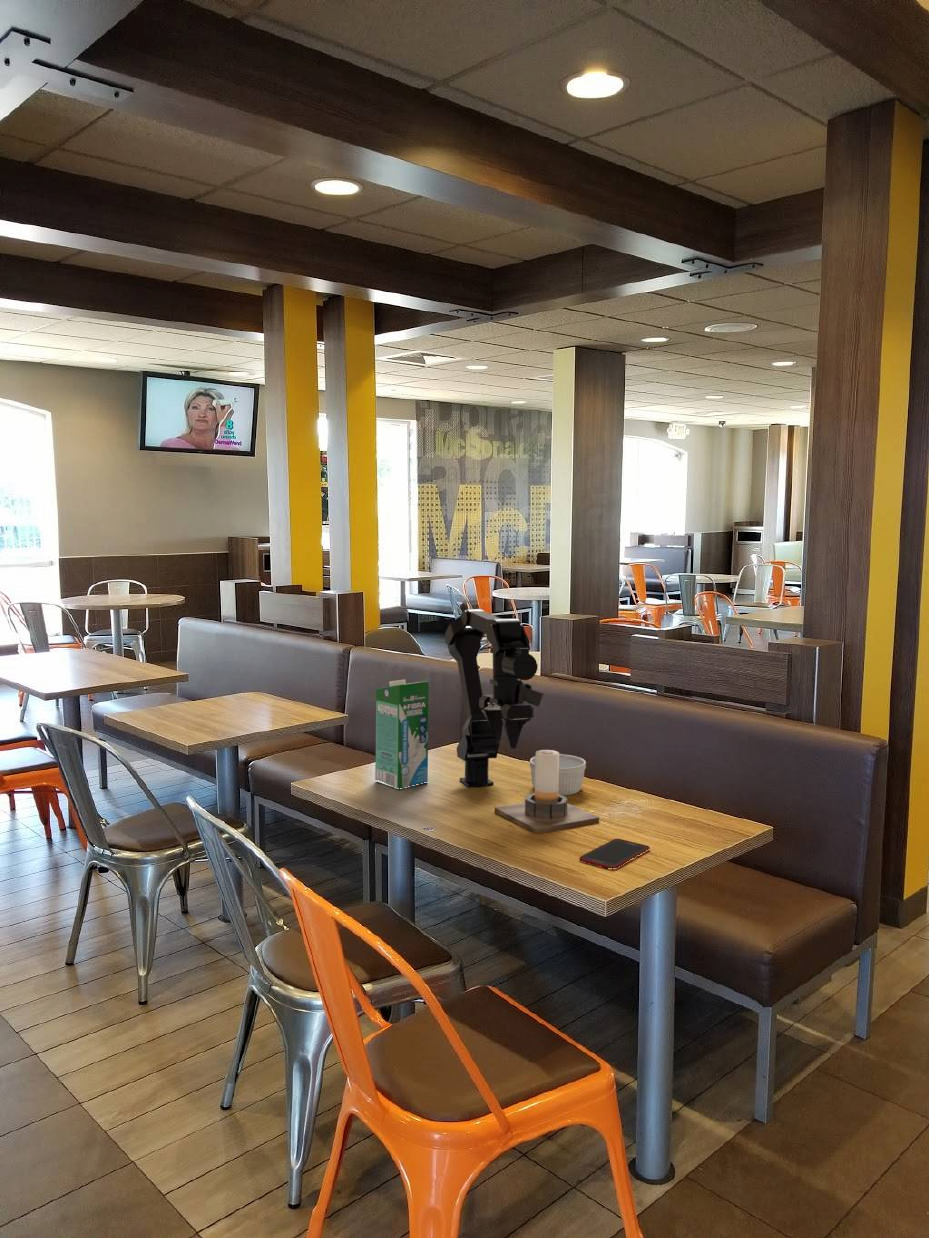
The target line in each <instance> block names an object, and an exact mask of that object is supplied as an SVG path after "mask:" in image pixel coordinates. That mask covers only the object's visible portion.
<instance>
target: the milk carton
mask: <svg viewBox="0 0 929 1238" xmlns="http://www.w3.org/2000/svg"><path fill="white" fill-rule="evenodd" d="M429 683H430V681H429V680H425V681H418V682H410V683H406V679H405V678H404V679H399V680H398V679H397V680H391V681H389V683H388V684H389V686H385V687H380V688H375V763H374V764H375V769H374V771H375V773H374V774H375V775H374V776H375V780H379V781H382V782H384V783H386V784H388V785H391V786H393V787H396V788H399V789H400V788H405V787H408V786H412V785H416V784H421V783H424V782H428V783H429V779H428V778H429V777H428V775H429V774H428V773H429V767H428V766H429V699H430V698H429V696H430V693H429V688H430V687H429V686H430V685H429ZM375 780H374V781H375ZM405 789H406V788H405Z"/></svg>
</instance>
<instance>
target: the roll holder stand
mask: <svg viewBox="0 0 929 1238" xmlns="http://www.w3.org/2000/svg"><path fill="white" fill-rule="evenodd" d="M534 794H535V793H530V794H527V795H526V797H525V798H524V802H520V803H513V804H507V805H501V806H495V807H494V813H496V814H497V815H499V816H501V817H503V818H505V819H507V820H509V821H510V822H512V823H515V824H517V825H519V826H521V827H523V828H525V829H526V830H529V832H532V833H534V834H535V835H536V834H543V833H546V832H547V833H548V832H553V831H554V832H555V831H560V830H563V829H569V828H574V827H579V826H585V825H590V824H596V823H597V824H598V823H599V822H600V817H599V816H597V815H594V814H593V813H590V812H589V811H586V810H583V809H581V808H579V807H577V806H575V805H572V804H570V803H568V800H569V799H568V797H566V796H565V795H563V796H562V795H559V794H558V802H557V803H552V804H548V803H537V802H535V799H534Z"/></svg>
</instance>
